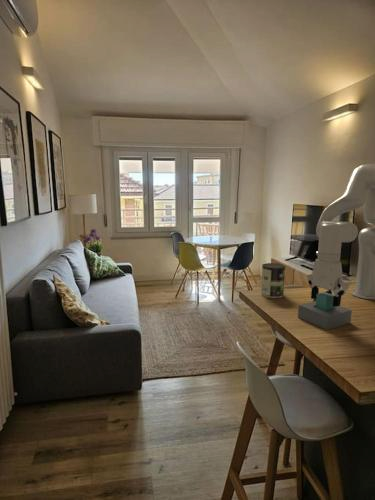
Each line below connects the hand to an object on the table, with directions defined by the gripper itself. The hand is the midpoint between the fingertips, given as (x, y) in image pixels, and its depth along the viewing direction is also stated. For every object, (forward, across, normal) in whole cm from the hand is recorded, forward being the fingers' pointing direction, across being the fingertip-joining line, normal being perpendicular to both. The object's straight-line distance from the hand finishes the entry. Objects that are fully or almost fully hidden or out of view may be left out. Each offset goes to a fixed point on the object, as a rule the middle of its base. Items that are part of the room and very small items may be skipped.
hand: (325, 302), depth 119 cm
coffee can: (+7, -32, +4) cm, 33 cm away
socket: (+7, 0, 0) cm, 7 cm away
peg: (+7, 0, 0) cm, 7 cm away
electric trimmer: (+8, -17, +19) cm, 27 cm away
